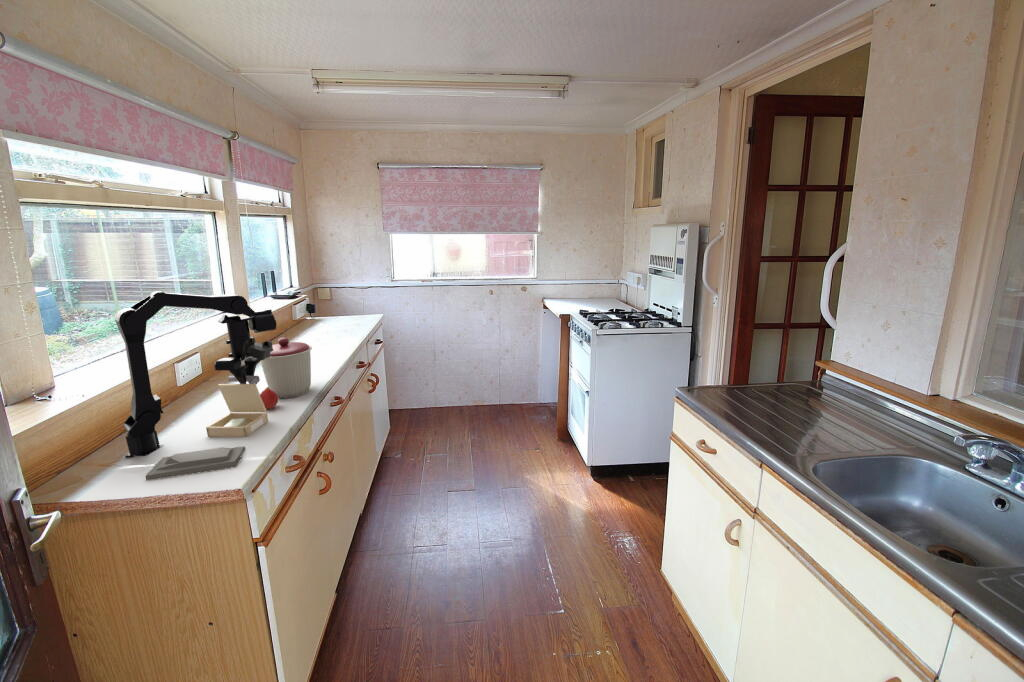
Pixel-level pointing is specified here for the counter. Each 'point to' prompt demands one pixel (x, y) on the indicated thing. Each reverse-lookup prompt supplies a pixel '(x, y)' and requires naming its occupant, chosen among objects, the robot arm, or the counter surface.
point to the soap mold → (196, 462)
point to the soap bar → (237, 423)
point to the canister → (288, 368)
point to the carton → (252, 424)
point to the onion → (269, 398)
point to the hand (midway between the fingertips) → (247, 384)
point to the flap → (242, 395)
